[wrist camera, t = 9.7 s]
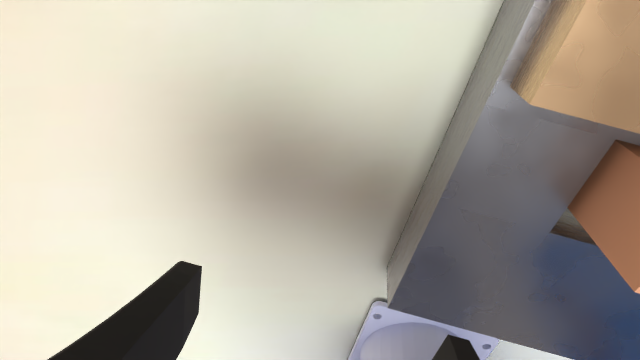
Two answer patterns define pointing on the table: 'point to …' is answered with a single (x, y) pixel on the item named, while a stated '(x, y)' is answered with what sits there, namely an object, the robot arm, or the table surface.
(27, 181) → the table surface
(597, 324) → the bracket plate
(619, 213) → the light brown rectangular block
